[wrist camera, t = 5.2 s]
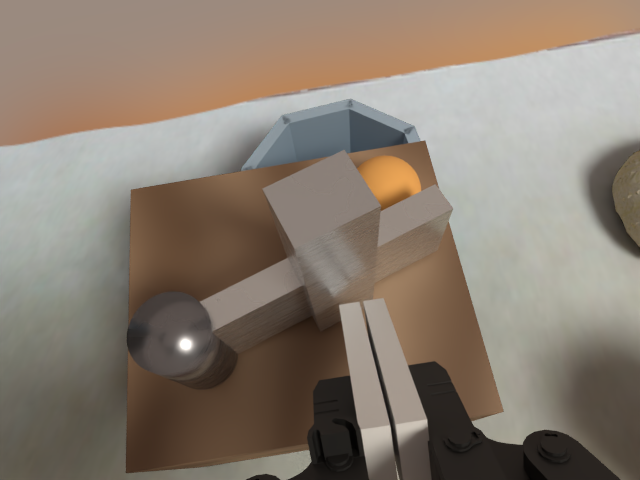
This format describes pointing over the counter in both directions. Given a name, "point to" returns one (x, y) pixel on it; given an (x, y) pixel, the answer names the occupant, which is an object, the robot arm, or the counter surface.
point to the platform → (288, 345)
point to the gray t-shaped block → (291, 273)
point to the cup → (329, 134)
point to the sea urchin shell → (629, 195)
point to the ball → (389, 179)
